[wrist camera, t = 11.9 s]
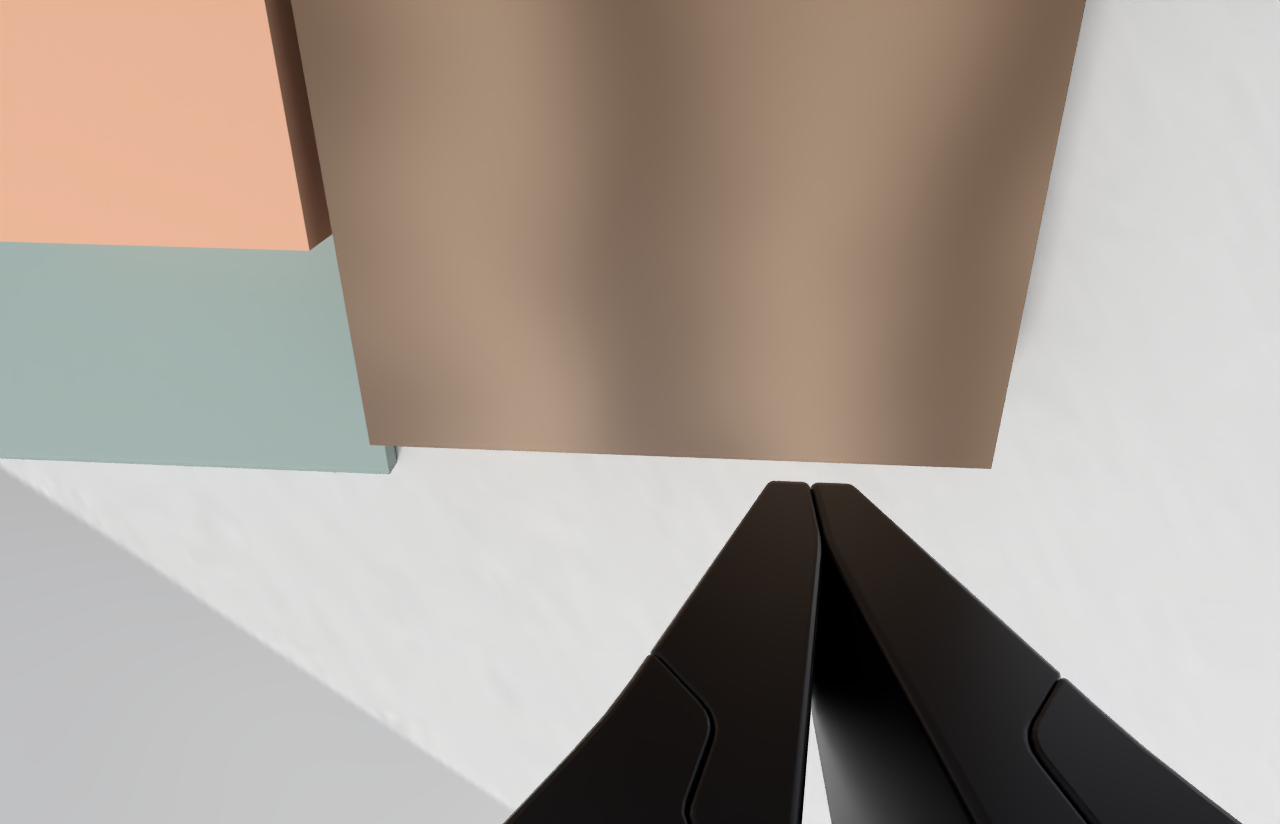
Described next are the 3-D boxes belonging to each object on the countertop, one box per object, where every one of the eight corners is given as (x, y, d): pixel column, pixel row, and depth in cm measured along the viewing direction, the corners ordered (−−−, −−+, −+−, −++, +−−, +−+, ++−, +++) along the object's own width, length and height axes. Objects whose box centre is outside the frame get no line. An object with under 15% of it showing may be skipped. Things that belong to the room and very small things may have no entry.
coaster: (289, -138, 17) (237, -148, 15) (346, 223, 20) (309, 250, 18) (-54, -136, 18) (-142, -144, 16) (56, 215, 21) (-7, 241, 19)
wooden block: (1125, -473, 14) (1196, -549, 12) (965, 414, 22) (991, 468, 19) (279, -429, 15) (203, -491, 13) (404, 396, 23) (370, 445, 21)
